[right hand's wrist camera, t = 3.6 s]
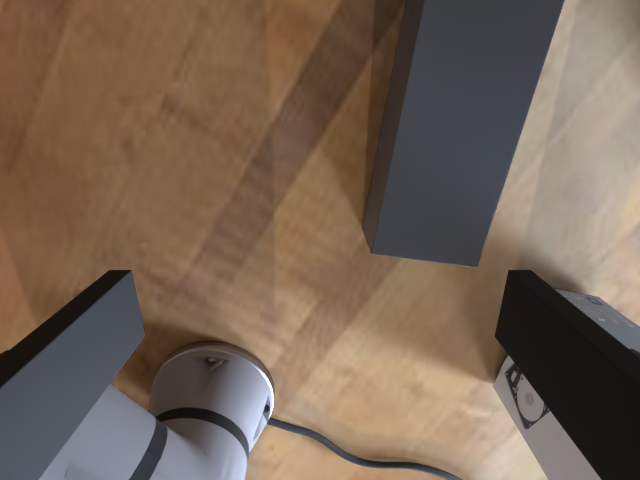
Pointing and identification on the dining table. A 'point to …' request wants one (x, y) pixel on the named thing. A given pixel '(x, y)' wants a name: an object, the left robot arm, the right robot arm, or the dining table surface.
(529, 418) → the hard drive box
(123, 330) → the right robot arm
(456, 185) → the slab
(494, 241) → the dining table surface
